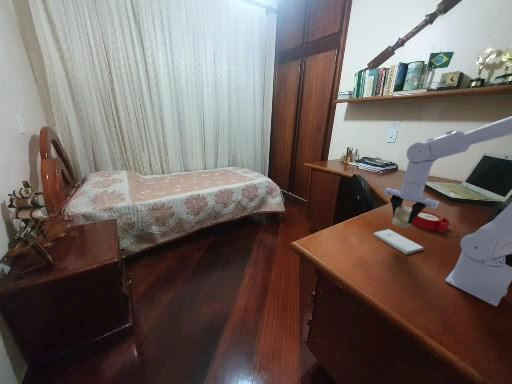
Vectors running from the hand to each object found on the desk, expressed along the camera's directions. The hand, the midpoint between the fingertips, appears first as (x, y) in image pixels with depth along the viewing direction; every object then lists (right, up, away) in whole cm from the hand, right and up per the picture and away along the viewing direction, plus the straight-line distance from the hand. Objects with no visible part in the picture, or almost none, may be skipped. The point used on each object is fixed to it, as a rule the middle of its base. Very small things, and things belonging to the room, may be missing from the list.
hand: (402, 220), depth 70 cm
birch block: (0, -1, 0) cm, 2 cm away
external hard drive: (0, -9, +3) cm, 9 cm away
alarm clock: (+22, -5, +15) cm, 27 cm away
